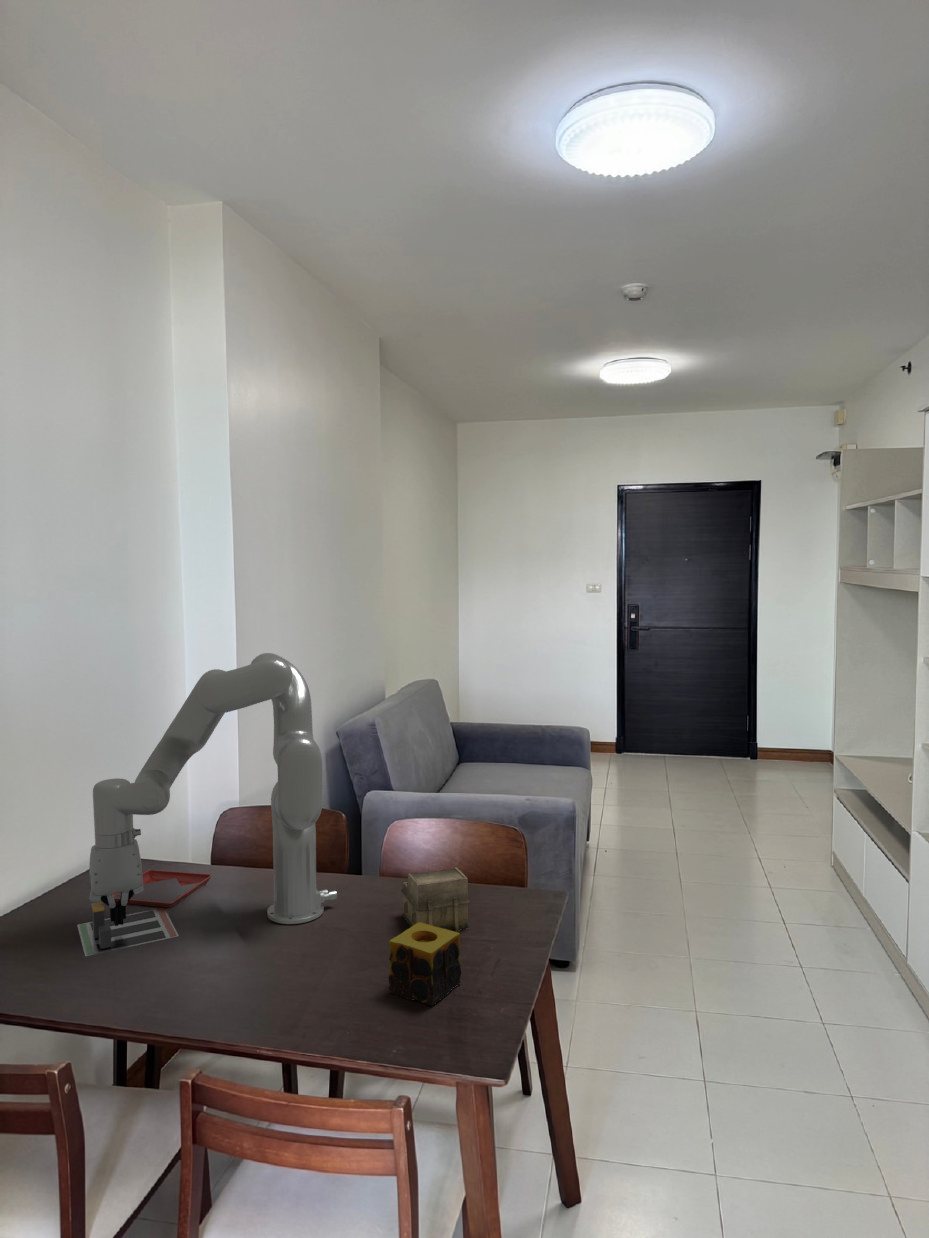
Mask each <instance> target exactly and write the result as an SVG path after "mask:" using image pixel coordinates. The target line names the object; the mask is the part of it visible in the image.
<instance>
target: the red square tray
mask: <svg viewBox="0 0 929 1238" xmlns="http://www.w3.org/2000/svg"><path fill="white" fill-rule="evenodd" d="M142 875H143V885H147V884H151V883H156V882H162V881H167V880H172V879H174V880H175V879H176V880H177V882H178V884H179V886H181V887H184V886H188V885H192V884H193V885H194V884H196V885H194V886H193V887H191V888H190V889H188V890H187V891H185V892H184V893H183V894H181V895H180V896H178V897H177V898H175V899H174V900H173V901H169V902H166V901H156V900H147V899H145V900H144V899H133V898H131V899H130V900H129V901H128V902H127V904H131V905H139V906H150V907H152V906H153V907H160V908H172V907H174V906H175V905H176V904H179V903H180V902H181V901H183V900H184V899H185V898H187V897H188V896H189V895H191V894H193V893H195V892H196V891H197V890H198V889H200V888H201V887H203V886H206V885H207V883H208V882H209V881H210V879H211V878H212V876H213V875H212V874H210V873H200V872H199V873H198V872H185V871H171V870H161V869H160V870H159V869H149V870H148V869H147V870H146V871H144V872H142ZM118 895H120V893H115V894H113V896H114V900H115V901H116V903H118V901H119V900H120V897H117V896H118Z"/></svg>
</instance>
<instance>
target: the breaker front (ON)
mask: <svg viewBox="0 0 929 1238" xmlns="http://www.w3.org/2000/svg"><path fill="white" fill-rule="evenodd" d="M99 944H100V948H101V949H103V948H107V947H112V946H111V928H110V925H109V924H108V925H103V926H99Z"/></svg>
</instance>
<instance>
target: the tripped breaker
mask: <svg viewBox="0 0 929 1238" xmlns="http://www.w3.org/2000/svg"><path fill="white" fill-rule="evenodd" d="M91 909H92V910H91V914H92V915H91V916H92V920H91V921H92V922H93V935H94V938H97V937H99V926H103V925H105V923H104V919H105V903H103V902H102V901H100V902H93V903H92V902H91Z"/></svg>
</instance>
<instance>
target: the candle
mask: <svg viewBox="0 0 929 1238" xmlns="http://www.w3.org/2000/svg"><path fill="white" fill-rule="evenodd" d="M460 940H461V933H458V932H454V931H451V930H447V929H443V928H439V927H435V926H432V925H428V924H424V923H421V922H419V923H416V924H415V925H413V926H412V927H409V928H407V929H405V930H404V931H403V932H401V933H400V934H398V935H396V936H395V937H393V938H391V939H389V941H388V944H389V946H388V947H389V959H388V960H389V972H388V973H389V975H388V985H389V986H388V991H389V993H391V994H393V995H396V996H399V995H400V996H399V997H401V996H403V997H402V998H404V997H405V999H407V998H408V999H407V1000H410V999H414V1000H419V1001H421V1002H420V1003H422V1002H423V1003H422V1004H424V1003H425V1004H424V1005H426V1004H428V1005H430V1006H429V1007H434V1006H435V1005H436V1004H435V1003H437V1002H438V1001H439V1002H440V999H442V998H443V997H444V996H446V995H447V996H448V994H447V993H448V992H450V991H451V989H453V987H455V986H456V985H459V986H460V984H461V977H462V969H461V967H462V963H461V950H460V947H461V943H460V942H461V941H460ZM459 983H460V984H459ZM453 990H454V989H453ZM451 992H452V991H451ZM451 992H450V993H451ZM447 996H446V997H447ZM444 998H445V997H444ZM444 998H443V999H444ZM443 999H442V1000H443ZM414 1000H413V1001H414ZM419 1001H418V1002H419ZM439 1002H438V1003H439ZM438 1003H437V1004H438ZM434 1004H435V1005H434ZM428 1005H427V1006H428ZM433 1005H434V1006H433Z"/></svg>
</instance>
